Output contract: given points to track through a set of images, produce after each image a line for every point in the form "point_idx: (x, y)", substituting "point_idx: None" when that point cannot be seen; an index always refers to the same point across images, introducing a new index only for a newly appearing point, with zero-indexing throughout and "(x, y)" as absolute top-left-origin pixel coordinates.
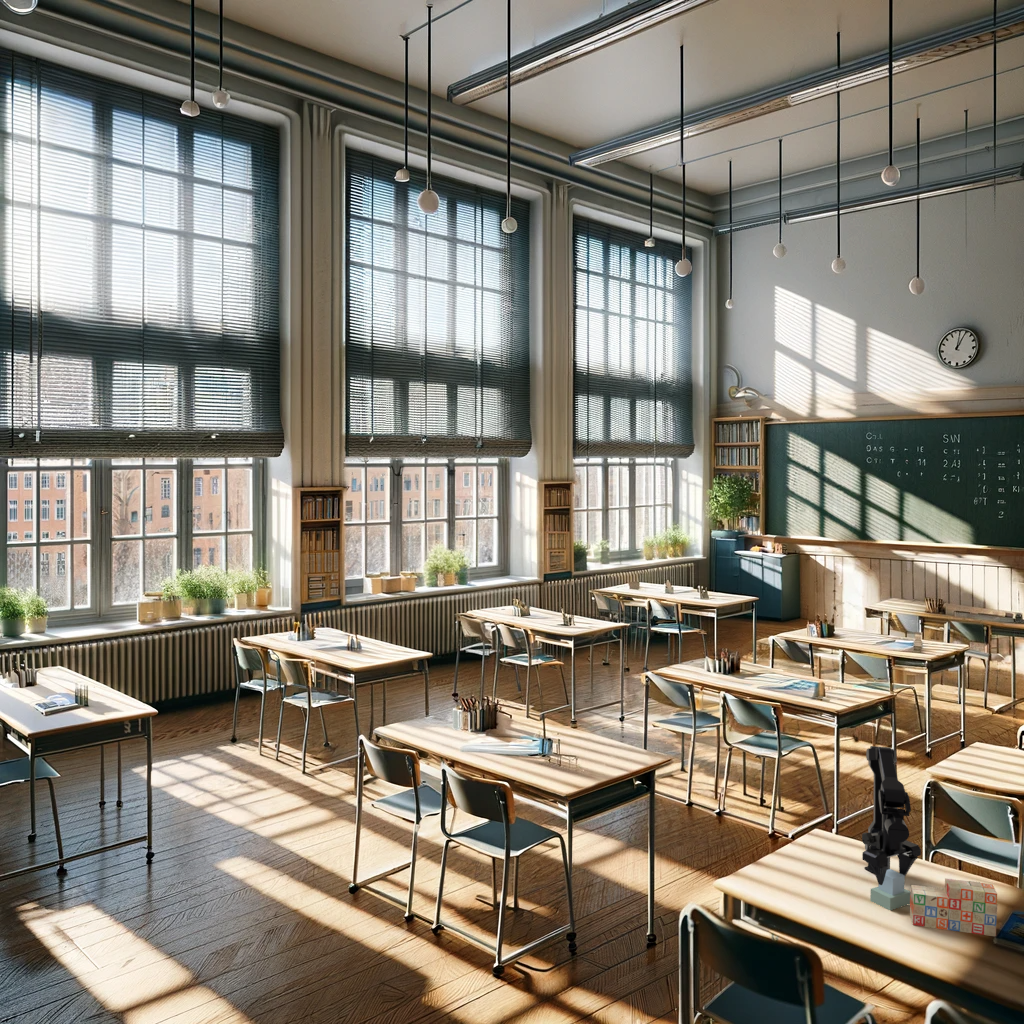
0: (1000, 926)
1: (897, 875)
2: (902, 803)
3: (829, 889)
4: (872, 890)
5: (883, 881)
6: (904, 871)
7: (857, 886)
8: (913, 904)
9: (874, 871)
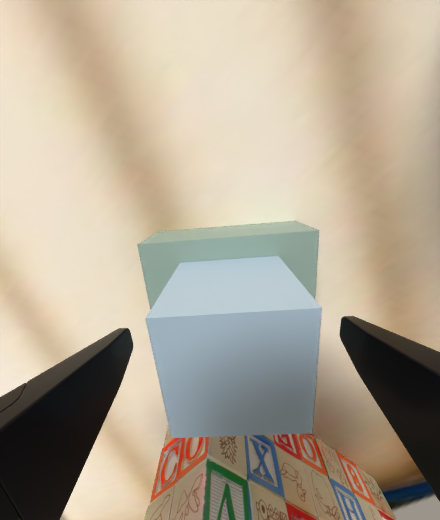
0: (395, 486)
1: (255, 416)
2: None
3: (30, 26)
4: (141, 255)
5: (120, 380)
6: (382, 396)
7: (213, 64)
8: (152, 497)
9: (3, 399)
